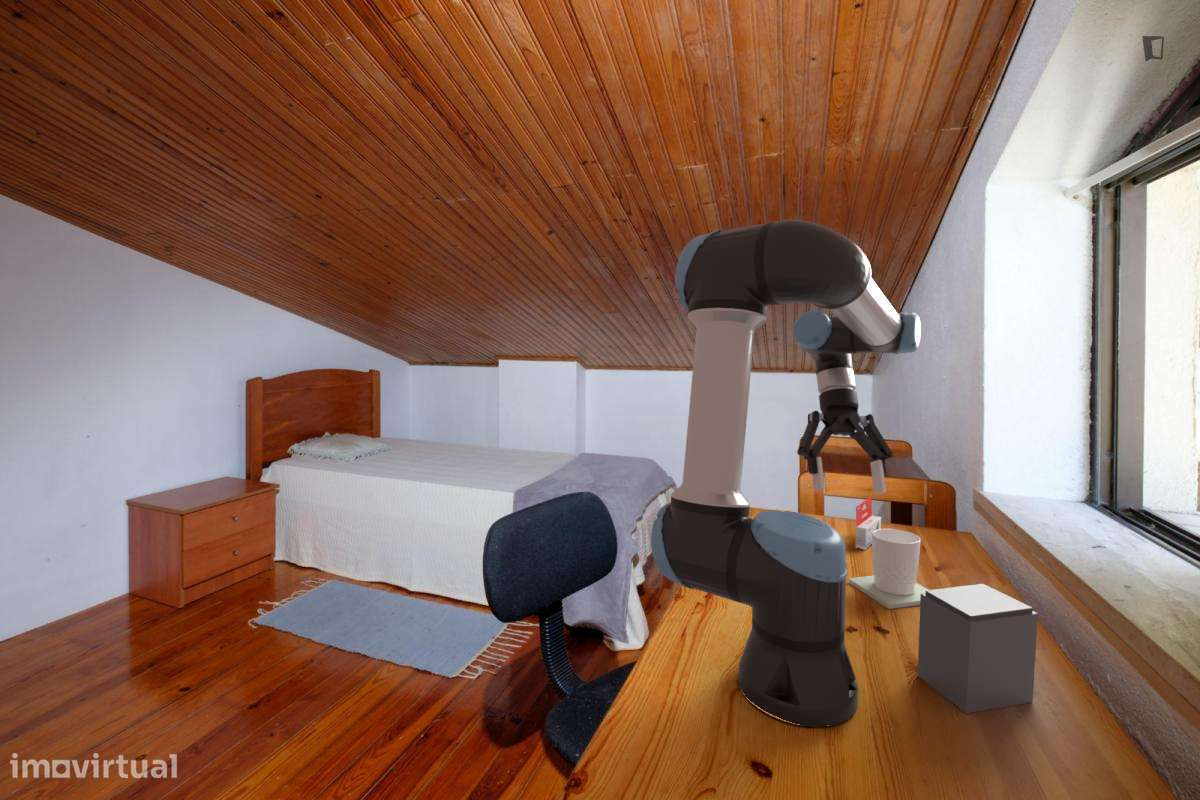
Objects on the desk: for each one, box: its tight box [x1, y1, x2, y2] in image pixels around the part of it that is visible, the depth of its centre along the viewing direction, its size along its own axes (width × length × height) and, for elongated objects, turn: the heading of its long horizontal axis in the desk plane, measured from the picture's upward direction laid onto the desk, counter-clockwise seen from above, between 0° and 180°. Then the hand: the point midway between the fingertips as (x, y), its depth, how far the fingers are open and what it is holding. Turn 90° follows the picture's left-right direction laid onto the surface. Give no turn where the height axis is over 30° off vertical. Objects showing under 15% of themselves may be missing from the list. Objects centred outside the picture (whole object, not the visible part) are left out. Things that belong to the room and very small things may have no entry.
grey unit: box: [917, 583, 1039, 714], centre depth 72 cm, size 11×8×13 cm
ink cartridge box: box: [854, 496, 882, 551], centre depth 125 cm, size 2×11×10 cm, turn 137°
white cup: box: [871, 528, 922, 595], centre depth 100 cm, size 8×8×10 cm
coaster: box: [848, 575, 929, 610], centre depth 101 cm, size 11×11×1 cm
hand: (850, 491), depth 110 cm, fingers open, 13 cm apart
